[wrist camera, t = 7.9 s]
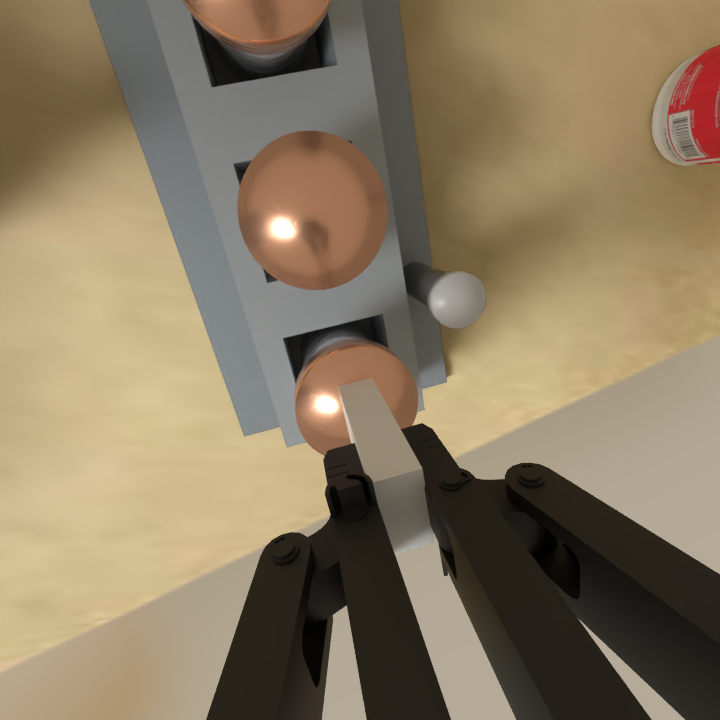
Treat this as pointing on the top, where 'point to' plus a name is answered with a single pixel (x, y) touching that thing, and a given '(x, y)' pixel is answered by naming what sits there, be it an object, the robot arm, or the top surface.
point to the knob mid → (312, 210)
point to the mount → (229, 163)
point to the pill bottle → (690, 112)
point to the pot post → (446, 293)
